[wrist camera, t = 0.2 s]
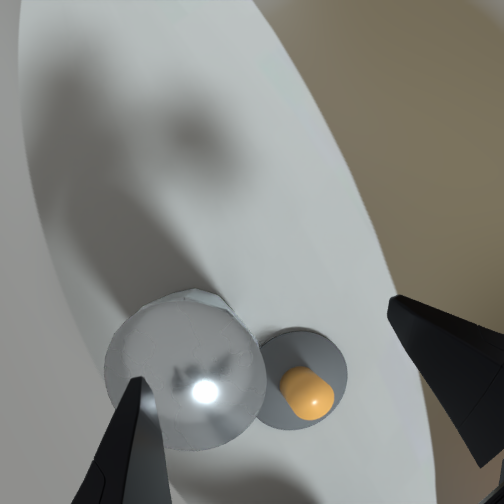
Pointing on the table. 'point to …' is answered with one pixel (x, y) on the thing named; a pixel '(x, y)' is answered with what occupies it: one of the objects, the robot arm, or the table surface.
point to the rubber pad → (292, 355)
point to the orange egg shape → (306, 393)
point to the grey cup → (190, 368)
